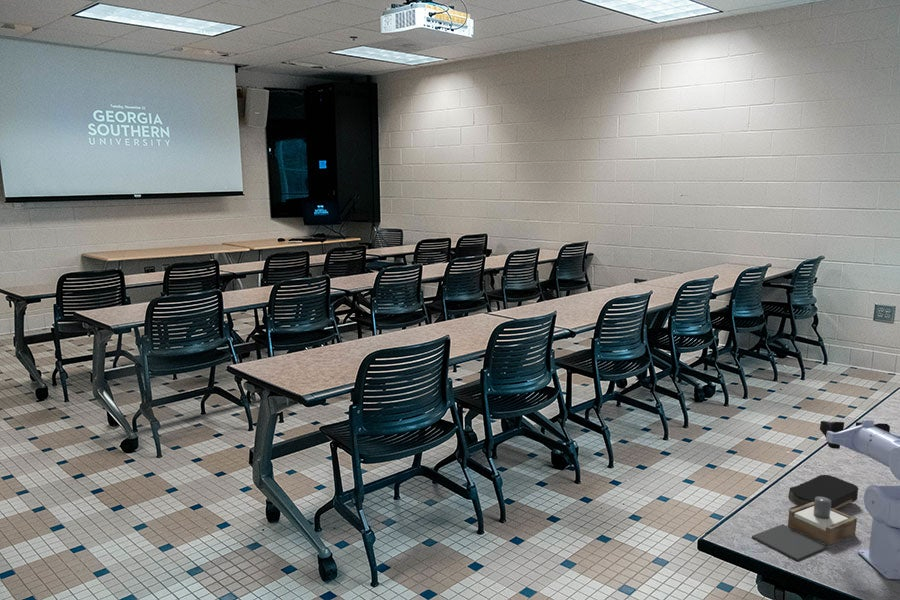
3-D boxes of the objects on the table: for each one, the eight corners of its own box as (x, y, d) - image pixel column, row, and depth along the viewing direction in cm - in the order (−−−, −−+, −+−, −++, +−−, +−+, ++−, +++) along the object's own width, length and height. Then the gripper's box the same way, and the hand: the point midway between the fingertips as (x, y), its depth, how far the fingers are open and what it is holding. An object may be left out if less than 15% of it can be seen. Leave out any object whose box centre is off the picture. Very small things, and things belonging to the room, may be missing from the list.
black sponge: (823, 487, 162) (824, 472, 161) (860, 501, 155) (862, 486, 154) (783, 504, 153) (785, 489, 153) (821, 520, 146) (823, 503, 146)
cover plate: (816, 508, 147) (818, 489, 146) (848, 521, 141) (850, 502, 141) (794, 516, 143) (796, 497, 142) (825, 530, 137) (827, 510, 137)
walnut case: (813, 515, 149) (815, 500, 148) (855, 534, 141) (856, 518, 141) (787, 525, 144) (789, 510, 144) (829, 545, 137) (830, 528, 136)
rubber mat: (782, 525, 144) (782, 524, 144) (828, 547, 136) (828, 545, 136) (751, 537, 140) (751, 535, 139) (797, 560, 131) (797, 559, 131)
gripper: (920, 428, 133) (874, 409, 146) (847, 425, 132) (808, 406, 145) (915, 463, 133) (870, 441, 147) (843, 460, 133) (804, 438, 146)
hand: (839, 426), depth 146 cm, fingers open, 7 cm apart
